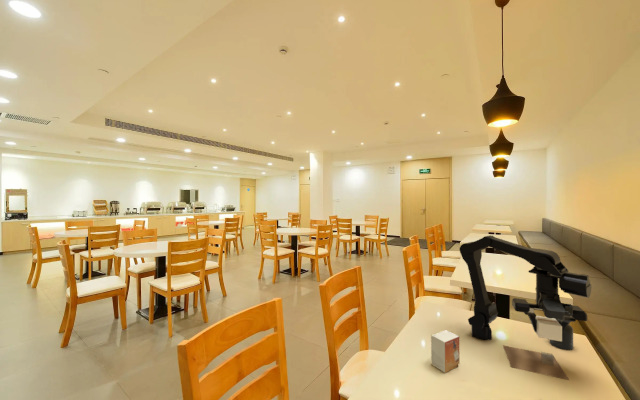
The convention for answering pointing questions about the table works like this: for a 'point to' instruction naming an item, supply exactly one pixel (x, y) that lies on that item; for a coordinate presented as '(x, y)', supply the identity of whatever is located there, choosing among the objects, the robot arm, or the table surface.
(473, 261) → the robot arm
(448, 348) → the small box
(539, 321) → the white carton
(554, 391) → the table surface
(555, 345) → the supplement bottle
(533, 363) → the base plate
